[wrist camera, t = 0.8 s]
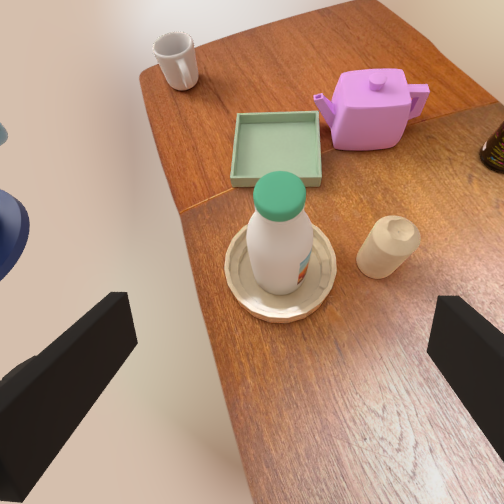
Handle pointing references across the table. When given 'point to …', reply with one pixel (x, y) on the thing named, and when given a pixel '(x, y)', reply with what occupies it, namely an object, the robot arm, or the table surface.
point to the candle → (387, 246)
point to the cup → (177, 59)
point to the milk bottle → (279, 233)
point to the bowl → (281, 305)
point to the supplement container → (494, 150)
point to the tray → (276, 147)
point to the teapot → (371, 108)
